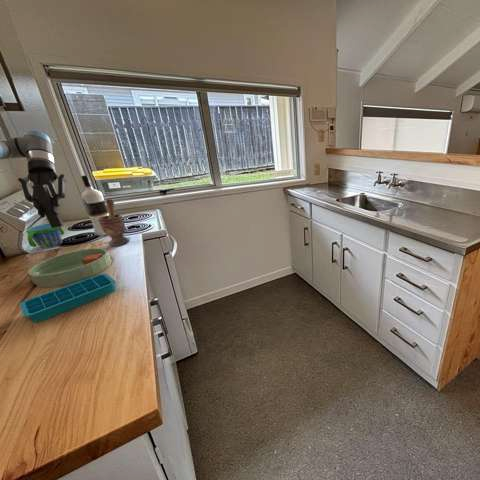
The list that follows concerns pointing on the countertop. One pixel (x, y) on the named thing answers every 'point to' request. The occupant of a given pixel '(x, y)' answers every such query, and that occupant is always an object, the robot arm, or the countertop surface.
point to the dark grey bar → (47, 205)
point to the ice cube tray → (67, 297)
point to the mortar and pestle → (113, 225)
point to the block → (91, 258)
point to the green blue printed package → (45, 236)
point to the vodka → (94, 205)
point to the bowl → (68, 268)
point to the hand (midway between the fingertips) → (48, 214)
